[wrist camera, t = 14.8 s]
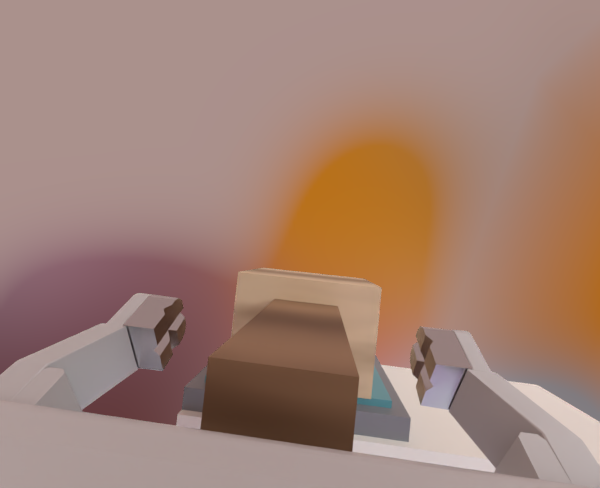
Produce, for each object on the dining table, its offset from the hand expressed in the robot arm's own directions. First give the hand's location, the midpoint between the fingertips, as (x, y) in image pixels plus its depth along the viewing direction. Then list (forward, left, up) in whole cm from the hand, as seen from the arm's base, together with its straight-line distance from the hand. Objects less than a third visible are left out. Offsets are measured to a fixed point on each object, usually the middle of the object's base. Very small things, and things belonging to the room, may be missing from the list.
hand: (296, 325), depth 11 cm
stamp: (0, -5, -5) cm, 7 cm away
